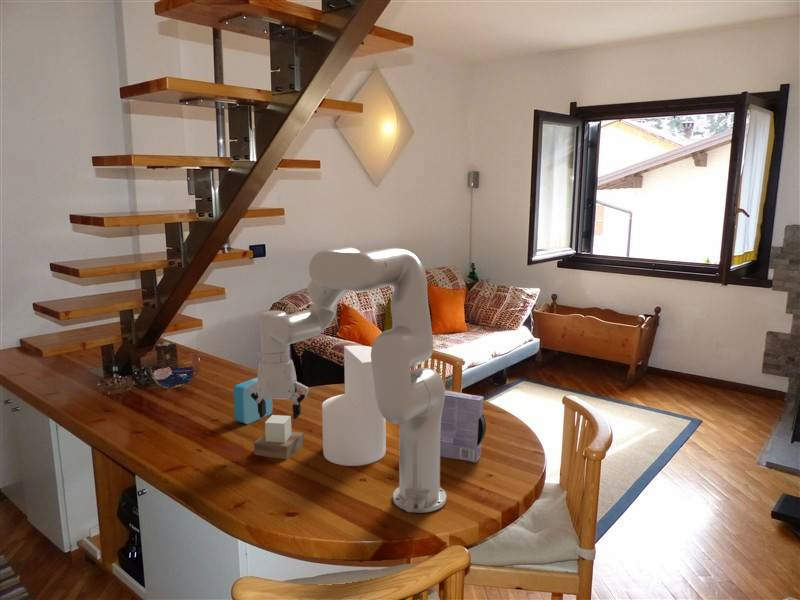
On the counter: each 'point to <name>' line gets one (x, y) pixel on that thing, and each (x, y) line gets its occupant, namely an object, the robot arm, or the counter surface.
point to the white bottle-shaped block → (354, 415)
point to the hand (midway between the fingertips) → (279, 416)
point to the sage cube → (278, 428)
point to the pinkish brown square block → (279, 446)
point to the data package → (248, 403)
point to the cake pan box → (462, 426)
